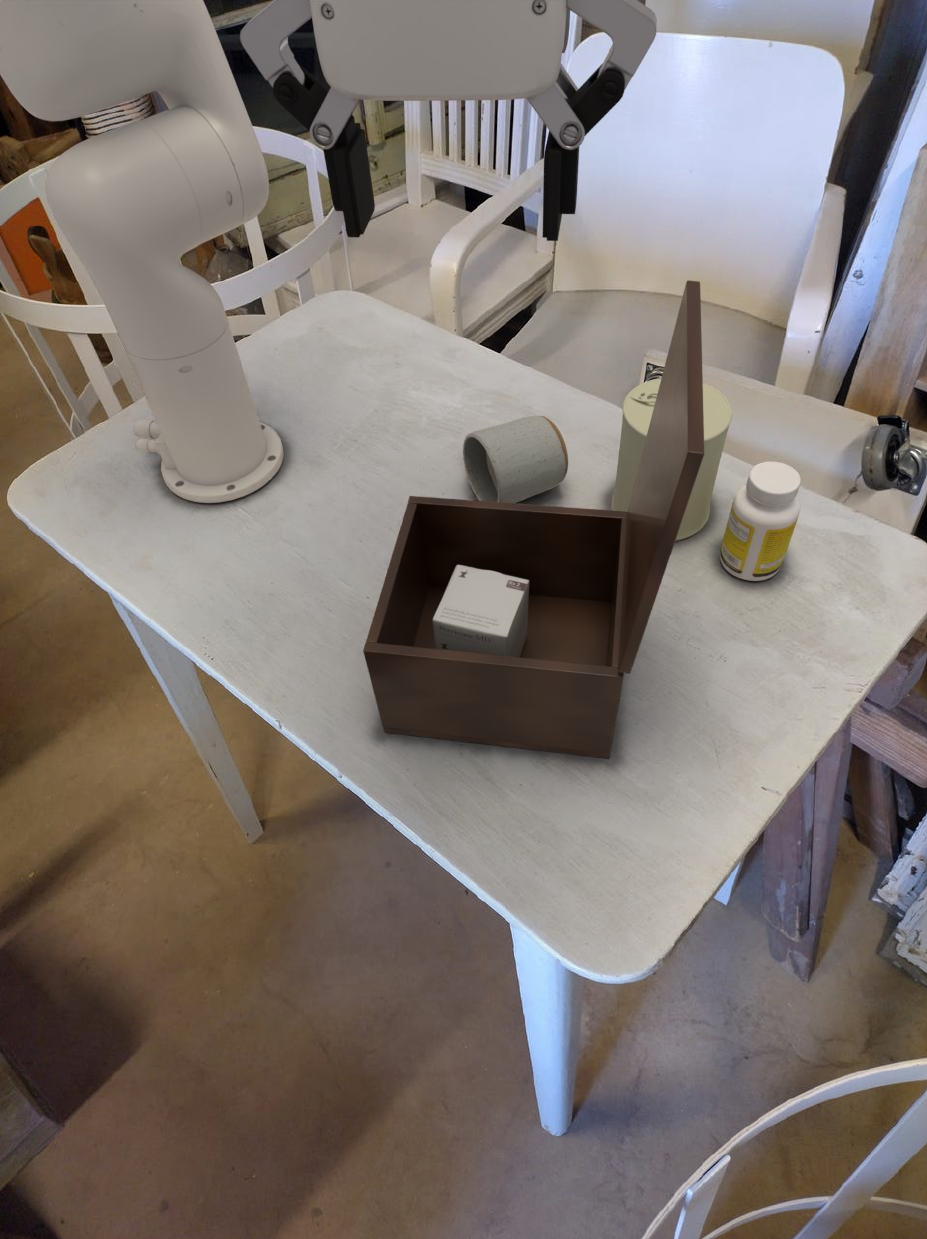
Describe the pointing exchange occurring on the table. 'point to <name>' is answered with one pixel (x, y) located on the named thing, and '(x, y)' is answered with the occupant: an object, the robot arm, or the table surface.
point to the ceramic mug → (515, 459)
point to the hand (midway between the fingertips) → (455, 225)
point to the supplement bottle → (761, 522)
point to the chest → (556, 631)
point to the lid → (664, 475)
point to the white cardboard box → (482, 613)
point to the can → (633, 440)
